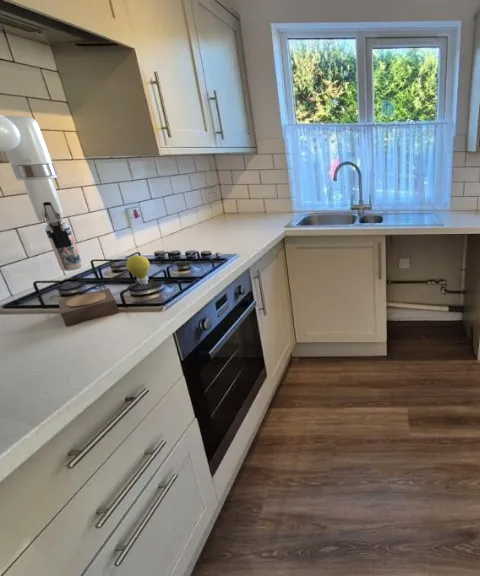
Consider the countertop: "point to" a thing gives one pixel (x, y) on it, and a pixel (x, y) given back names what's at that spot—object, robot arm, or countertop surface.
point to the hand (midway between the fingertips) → (63, 244)
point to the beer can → (66, 252)
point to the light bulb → (138, 268)
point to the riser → (87, 307)
